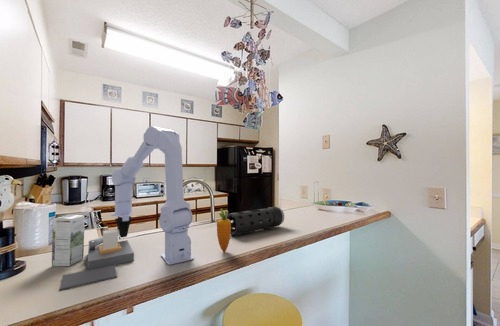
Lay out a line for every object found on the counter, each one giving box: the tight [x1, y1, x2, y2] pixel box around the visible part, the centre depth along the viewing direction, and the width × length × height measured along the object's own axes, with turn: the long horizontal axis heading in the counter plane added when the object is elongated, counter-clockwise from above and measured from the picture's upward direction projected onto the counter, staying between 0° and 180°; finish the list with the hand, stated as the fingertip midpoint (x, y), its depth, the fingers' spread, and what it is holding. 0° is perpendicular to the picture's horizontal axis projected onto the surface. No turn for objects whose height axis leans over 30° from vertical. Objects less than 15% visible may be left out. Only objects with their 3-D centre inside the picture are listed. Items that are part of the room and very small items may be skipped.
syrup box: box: [51, 214, 85, 267], centre depth 73 cm, size 6×6×14 cm
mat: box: [59, 265, 118, 291], centre depth 63 cm, size 9×12×1 cm
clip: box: [88, 229, 120, 250], centre depth 83 cm, size 2×15×3 cm, turn 175°
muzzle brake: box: [226, 206, 285, 237], centre depth 108 cm, size 10×28×10 cm, turn 126°
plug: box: [99, 228, 121, 254], centre depth 77 cm, size 6×6×8 cm
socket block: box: [87, 239, 135, 270], centre depth 77 cm, size 16×12×2 cm
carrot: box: [216, 208, 232, 253], centre depth 81 cm, size 5×5×15 cm
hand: (123, 236), depth 89 cm, fingers closed
